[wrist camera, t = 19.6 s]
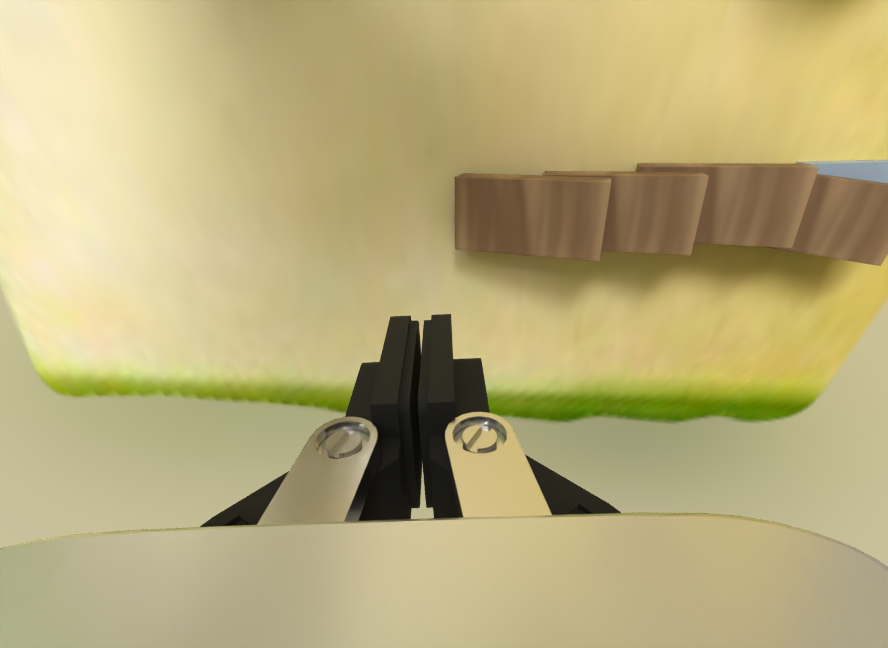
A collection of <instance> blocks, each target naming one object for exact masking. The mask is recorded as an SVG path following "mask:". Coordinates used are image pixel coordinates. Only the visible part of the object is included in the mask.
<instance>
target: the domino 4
mask: <svg viewBox="0 0 888 648" xmlns="http://www.w3.org/2000/svg"><path fill="white" fill-rule="evenodd" d="M796 164H808V165H811V166H815V167H819V169H818V172H817V174H822V175H830V176H837V177H844V178H852V179H859V180H867V181H874V182H882V183H888V160H856V161H814V162H796Z"/></svg>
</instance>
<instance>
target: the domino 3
mask: <svg viewBox="0 0 888 648" xmlns="http://www.w3.org/2000/svg"><path fill="white" fill-rule="evenodd" d="M818 169H819V167H815V166H811V165H808V164H677V163H638V166H637V172H703V173H705V174H706V175H708V176H709V178H708V183H707V187H706V191H705V196H704V200H703V205H702V209H701V214H700V218H699V222H698V227H697V231H696V236H695V240H694V243H701V244H721V245H741V246H761V247H781V248H792V246H793V244H794V241H795V238H796V235H797V232H798V229H799V226H800V223H801V220H802V217H803V214H804V211H805V208H806V205H807V202H808V199H809V196H810V193H811V190H812V187H813V184H814V181H815V178H816V175H817V172H818Z"/></svg>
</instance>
